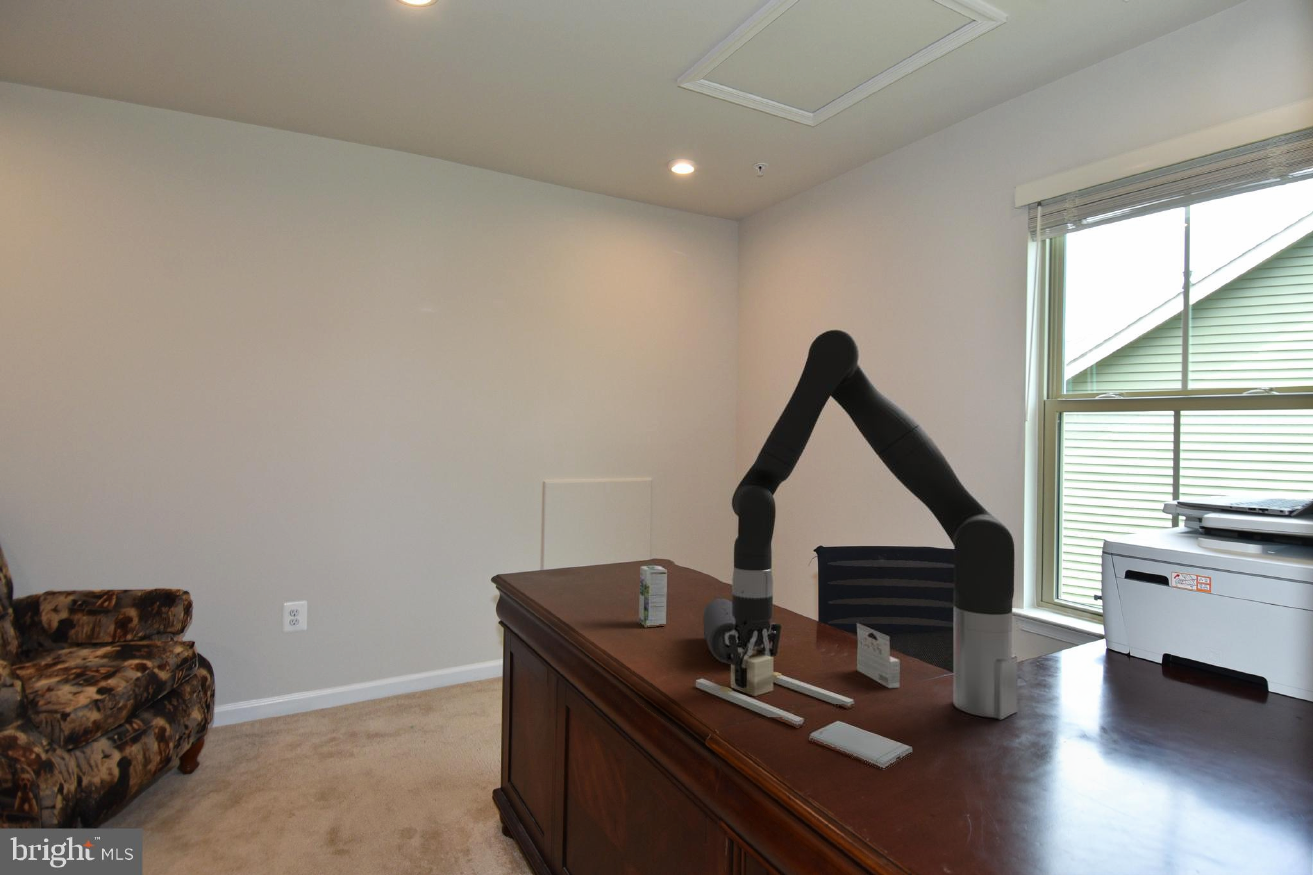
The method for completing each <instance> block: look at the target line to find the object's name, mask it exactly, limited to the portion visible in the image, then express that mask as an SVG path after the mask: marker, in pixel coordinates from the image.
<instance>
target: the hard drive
mask: <svg viewBox="0 0 1313 875" xmlns="http://www.w3.org/2000/svg"><path fill="white" fill-rule="evenodd" d="M810 738H813V739H815V740H818V741H820V742H823V743H824V744H828V745H830V746H832V747H836V748H837V749H840V750H842V751H845V752H847V753H850V754H853V755H854V756H858V757H860V758H862V759H864V760H867V761H869V762H871V763H874V764H876V765H878V766H880V767H883V768H885V767H886V766H888V765H889V764H890V763H893V762H895V761H896V760H898V758H902V756H905V755H906V754H908V753H910V752H912V753H913V747H912V746H910V745H906V744H904V743H901V742H898V741H896V740H892V739H891V738H888V737H884V736H881V735H879V734H876V733H874V732H870V731H868V730H865V729H862V728H859V727H856V726H854V725H851V724H848V723H846V722H842V721H839V720H836V721H835V722H833V723H830V724H828V725H826V726H824V727H821V728H820V729H817V730H816V731H813V732H811V733H810V735H809V739H810Z"/></svg>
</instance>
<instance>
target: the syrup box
mask: <svg viewBox="0 0 1313 875" xmlns="http://www.w3.org/2000/svg"><path fill="white" fill-rule="evenodd" d="M639 568H640V569H639V596H638V598H639V600H638V602H639V603H638V604H639V605H638V621H639V620H640V621H641V622H642V624H644V626H647V625H648V626H649V625H659V624H666V625H667V590H668V589H667V583H668V582H667V581H668V580H667V579H668V574H667V573H668V570H667V569H665V568H664V567H662V566H661V565H644V566H640V567H639Z"/></svg>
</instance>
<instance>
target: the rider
mask: <svg viewBox="0 0 1313 875" xmlns="http://www.w3.org/2000/svg"><path fill="white" fill-rule="evenodd" d="M742 656H743V654H741V656H740V660H742ZM732 658H733V657H732ZM746 668H747V687H745V688H741V687H738V686H737V685H736V684H735V667H734V665H731V664H730V687H731V689H732V688H733V689H735V690H738V691H740V692H742V693H745V694H748V695H750V696H753V697H756V696H757V697H758V696H759V695H762V694H766V693H768V692H772V691H774V682H773V672H774V656H772V657H770V656H767V655H764V654H762V653H756V651H752V654H751V656H749V658H748V660H747V666H746Z"/></svg>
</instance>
